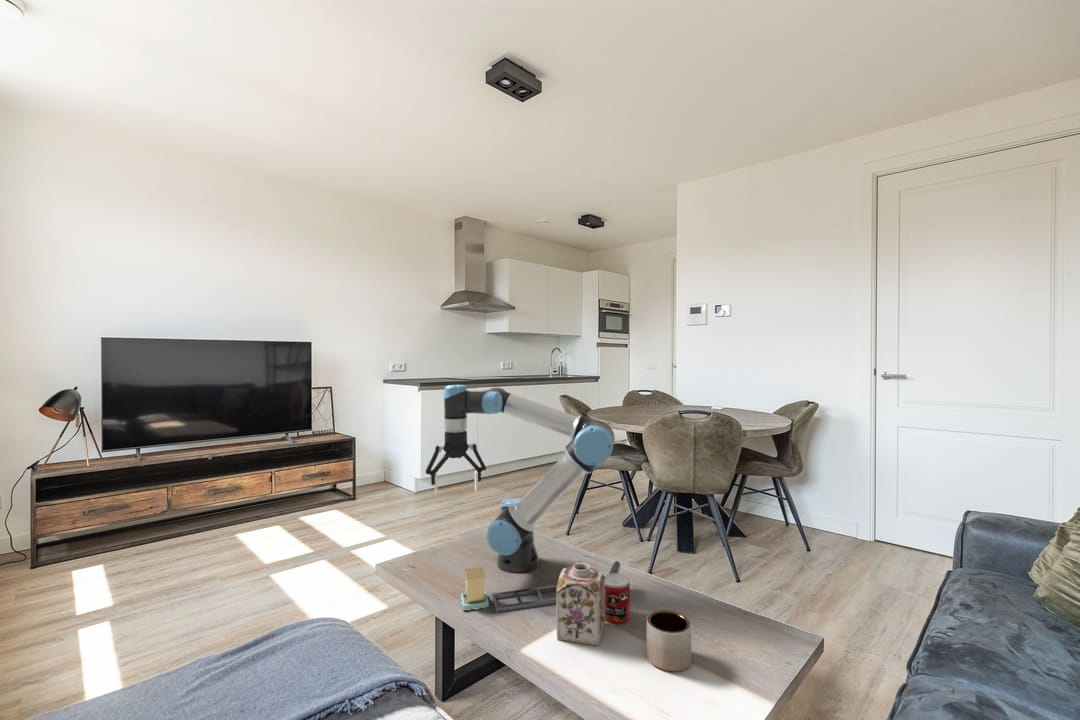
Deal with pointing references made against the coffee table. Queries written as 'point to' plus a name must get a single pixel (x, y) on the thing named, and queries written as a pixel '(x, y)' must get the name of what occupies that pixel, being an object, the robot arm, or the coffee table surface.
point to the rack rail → (524, 604)
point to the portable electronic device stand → (615, 568)
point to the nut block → (474, 585)
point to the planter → (668, 640)
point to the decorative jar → (580, 604)
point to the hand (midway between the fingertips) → (456, 492)
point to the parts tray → (475, 605)
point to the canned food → (617, 598)
